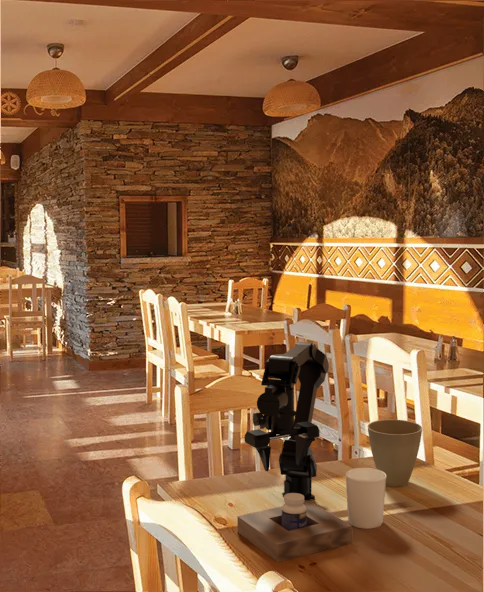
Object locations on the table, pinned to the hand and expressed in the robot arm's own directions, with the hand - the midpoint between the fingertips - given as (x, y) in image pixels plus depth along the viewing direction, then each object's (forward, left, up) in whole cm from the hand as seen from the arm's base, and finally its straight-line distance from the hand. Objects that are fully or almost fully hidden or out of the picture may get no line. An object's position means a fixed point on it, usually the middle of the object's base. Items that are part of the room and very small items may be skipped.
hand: (282, 467), depth 194 cm
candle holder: (-15, +14, -12) cm, 24 cm away
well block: (+5, +13, -12) cm, 18 cm away
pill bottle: (+5, +13, -12) cm, 18 cm away
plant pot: (-39, -4, -12) cm, 41 cm away
